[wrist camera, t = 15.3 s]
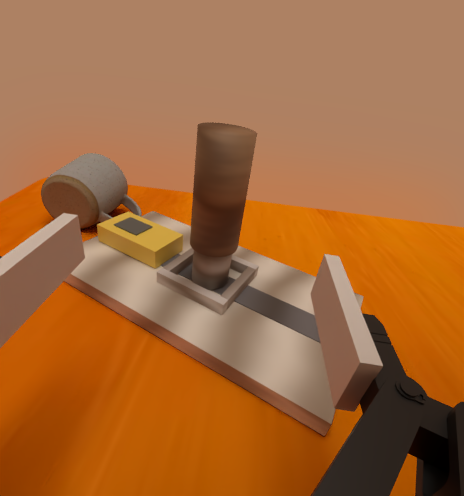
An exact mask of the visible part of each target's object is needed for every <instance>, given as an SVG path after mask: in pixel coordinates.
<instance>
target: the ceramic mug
mask: <svg viewBox="0 0 464 496" xmlns="http://www.w3.org/2000/svg"><path fill="white" fill-rule="evenodd" d="M127 190H128V186H127V181H126V178H125V176H124V174H123V172H122V171H121V170H120V168H119V167H118V166H117V165H116V164H115V163H114V162H113V161H111V160H110V159H108V158H107V157H105V156H103V155H99V154H93V153H90V154H84V155H82V156H80V157H79V158H77V159H76V160H74V161H72V162H71V163H69V164H67V165H66V166H64V167H63V168H61V169H59V170H58V171H56V172H55V173H53V174H51V176H50V177H49V178H48V179H47V180H46V181H45V183H44V184H43V186H42V190H41V196H42V201H43V204H44V206H45V208H46V209H47V211H48V212H49V213H50V215H51V216H52V217H53V218H54V219H56V218H57V217H59V216H60V215H62V214H63V213H67V214H73V215H78V219H79V224H80V229H82V228H87V227H90V226H92V225H94V224H96V223H98V222H99V221H100V222H104V221H106V220H109V219H111V218H113V217H111V216H109V215H107V214H109V213H110V212H112V211H113V210H114V209H115V208H117V207H118V206H119V205H120V204H123V205H124V206H126V207H127V208H128V209H130V211H131V212H132V213H133V214H135V215H138V216H140V217H141V210H140V208H139V206H138V205H137V204H136V203H135V202H134V201H133V200H132V199H131V198H130V197H128V196H127Z"/></svg>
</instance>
